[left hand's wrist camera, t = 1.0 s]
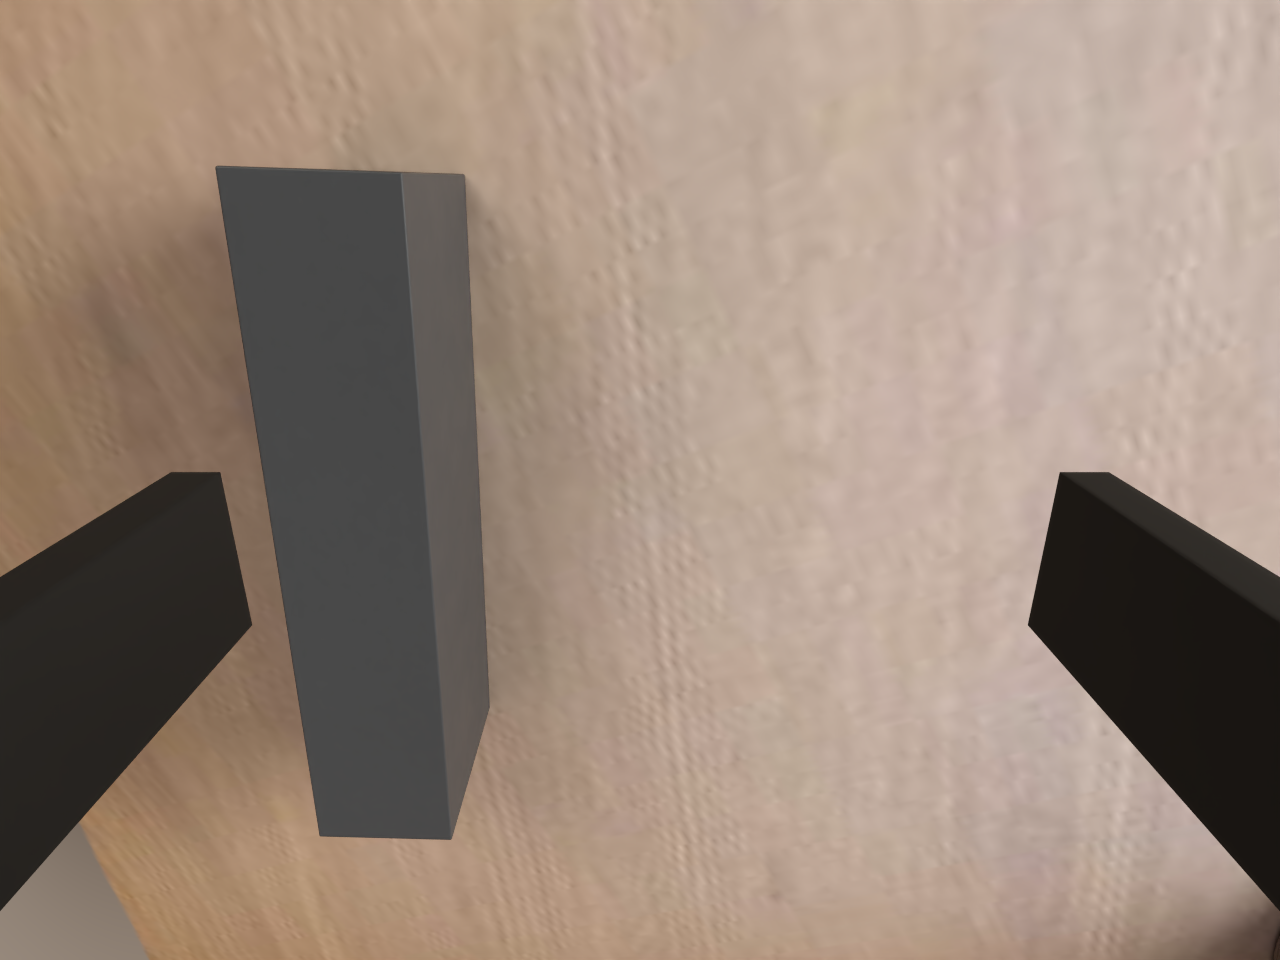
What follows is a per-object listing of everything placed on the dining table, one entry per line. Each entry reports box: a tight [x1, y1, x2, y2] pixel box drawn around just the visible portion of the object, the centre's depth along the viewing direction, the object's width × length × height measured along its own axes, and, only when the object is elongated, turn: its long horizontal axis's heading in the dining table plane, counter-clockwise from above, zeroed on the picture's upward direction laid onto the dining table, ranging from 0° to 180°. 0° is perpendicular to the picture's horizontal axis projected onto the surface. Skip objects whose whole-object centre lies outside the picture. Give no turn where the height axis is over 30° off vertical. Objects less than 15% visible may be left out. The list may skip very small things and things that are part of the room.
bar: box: [216, 166, 490, 840], centre depth 29 cm, size 24×5×8 cm, turn 178°
